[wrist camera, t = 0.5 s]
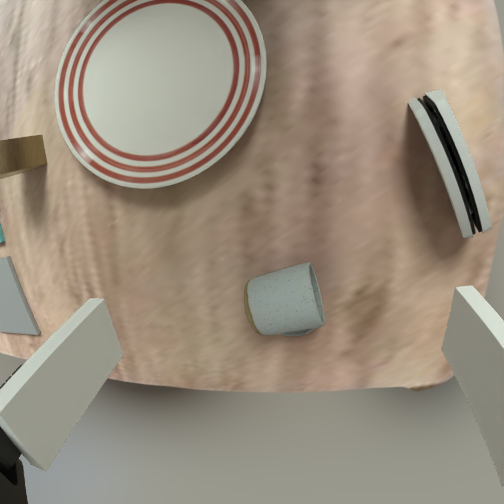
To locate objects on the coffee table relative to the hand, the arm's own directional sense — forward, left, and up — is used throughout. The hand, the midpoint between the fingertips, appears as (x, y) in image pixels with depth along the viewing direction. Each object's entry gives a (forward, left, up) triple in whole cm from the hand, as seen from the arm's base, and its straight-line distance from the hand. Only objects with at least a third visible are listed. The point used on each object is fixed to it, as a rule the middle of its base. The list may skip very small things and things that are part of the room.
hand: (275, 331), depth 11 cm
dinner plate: (-17, -14, -28) cm, 35 cm away
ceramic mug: (+13, -2, -28) cm, 31 cm away
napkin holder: (-2, +19, -28) cm, 34 cm away
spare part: (-13, -36, -28) cm, 47 cm away
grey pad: (+10, -58, -28) cm, 65 cm away
